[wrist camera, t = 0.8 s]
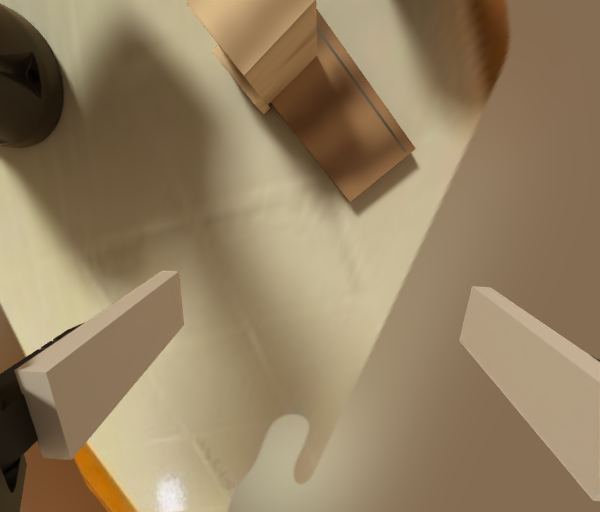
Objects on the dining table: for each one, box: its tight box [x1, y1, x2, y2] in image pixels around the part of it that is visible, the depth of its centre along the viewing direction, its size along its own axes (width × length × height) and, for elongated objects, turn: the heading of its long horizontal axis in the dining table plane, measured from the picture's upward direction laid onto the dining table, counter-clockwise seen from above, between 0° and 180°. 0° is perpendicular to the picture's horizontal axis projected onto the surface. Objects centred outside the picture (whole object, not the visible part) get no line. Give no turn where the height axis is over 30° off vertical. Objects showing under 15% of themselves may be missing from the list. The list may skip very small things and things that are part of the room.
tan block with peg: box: [186, 0, 317, 114], centre depth 25 cm, size 6×10×12 cm, turn 130°
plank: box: [270, 9, 415, 202], centre depth 31 cm, size 21×9×2 cm, turn 40°
